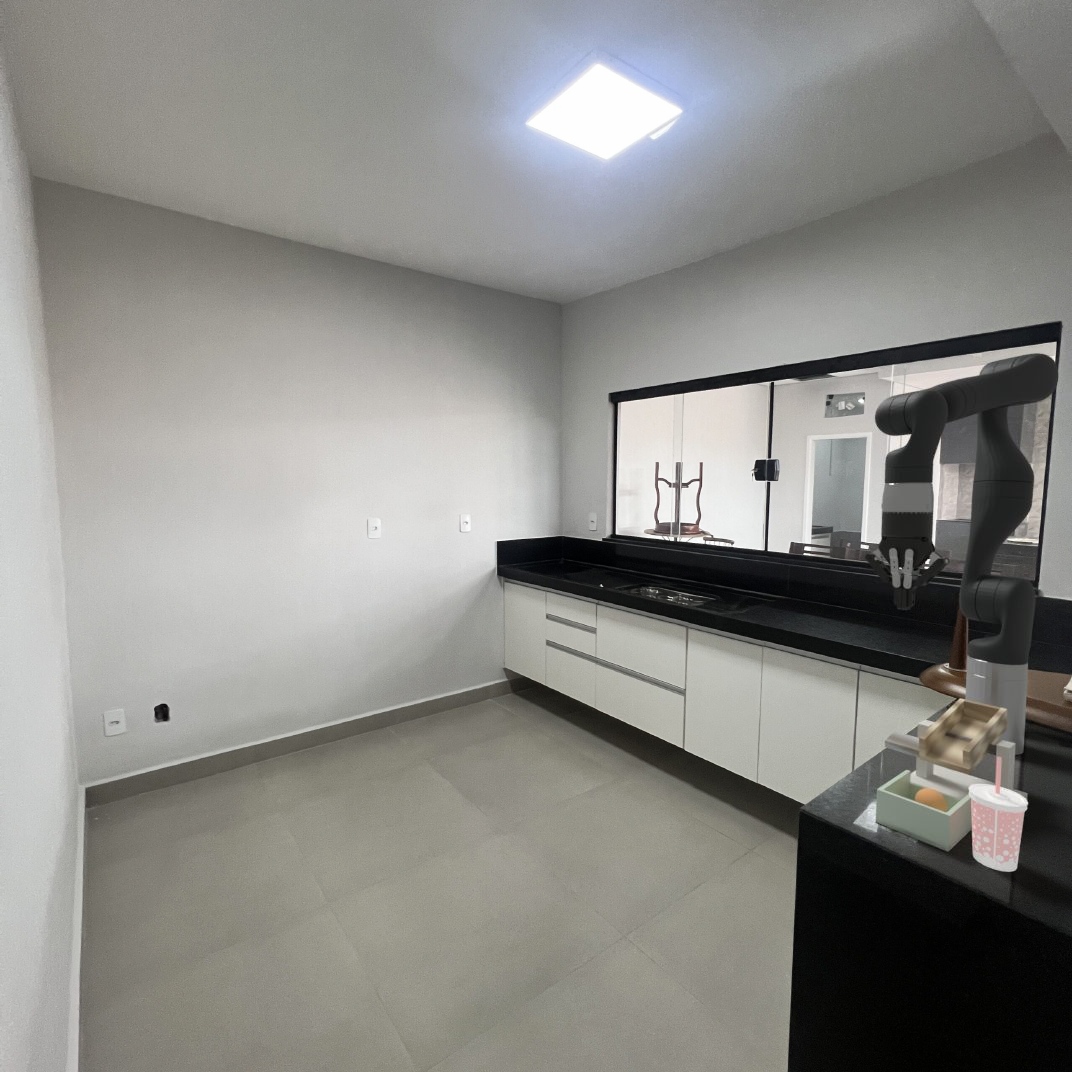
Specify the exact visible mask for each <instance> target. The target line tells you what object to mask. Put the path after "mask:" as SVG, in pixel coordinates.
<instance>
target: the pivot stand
mask: <svg viewBox="0 0 1072 1072" xmlns="http://www.w3.org/2000/svg"><path fill="white" fill-rule="evenodd" d="M935 722H936V721H931V720H927V719H924V720H922V721H920V722H918V723H917V733H916V735H917V736H916V737H917V738H919V737H920V736H921V735H922V734H923V733H924V732H925V731H926V730H927V729H929V728H930V727H931V726H932V725H933V724H934V723H935ZM1015 744H1016V743H1012V742H1008V741H1005V740H1002V741H1001V742H1000V743H998V744H997V749H996V755H995V768H994V769H995V770H994V771H995V772H994V774H995V775H994V782H992V781H990V780H986V779H983V778H980V777H976V776H973V775H970V774H966V773H963V772H960V771H956V770H953V769H950V768H947V767H943V766H940V765H937V764H934V763H931V762H927V761H924V760H921V759H919V758H918V757H915V758H916V760H915V770H913V771H912V772H911V777H910V782H912V783H915V784H918V785H921V786H924V787H927V788H930V789H934V790H936V791H939V792H942V793H944V794H947V795H950V796H953V797H956V798H959V799H963V798H964V797H965V796H966V795H968V794H969V786H971V785H973V784H990V785H995V786H996V768H997V757H1001V758H1002V761H1001V782H1000V787H1003V788H1006V789H1009V790H1012V791H1014V792H1016V793H1018V794H1020V795H1022V796H1023V797H1024V798H1026V800H1027V801H1028V793H1027V792H1025V791H1021V790H1019V789H1015V788H1014V784H1015V783H1014V781H1015V780H1014V779H1015V762H1016V755H1015Z"/></svg>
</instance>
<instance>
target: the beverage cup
mask: <svg viewBox="0 0 1072 1072" xmlns="http://www.w3.org/2000/svg"><path fill="white" fill-rule="evenodd" d="M1001 761H1002V758H1001V757H997V768H996V767H995V769H996V786H995V785H990V784H973V785H971V786H969V796H970V797H971V814H972V829H971V839H972V843H971V844H972V856H973V858H974V859H975V861H977V862H978V863H980V864H982V865H983V866H985V867H987V868H990V869H992V870H996V871H999V872H1009V873H1010V872H1014V871H1016V870H1017V869H1018V863H1019V856H1020V855H1019V854H1020V847H1021V846H1020V845H1021V839H1022V833H1023V825H1024V817H1025V812H1026V811H1027V810H1028V805H1029V802H1028V799H1027V800H1026V798H1024V797H1023V796H1022V795H1020V794H1018V793H1016V792H1014V791H1012V790H1009V789H1006V788H1003V787H1000V782H1001Z"/></svg>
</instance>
